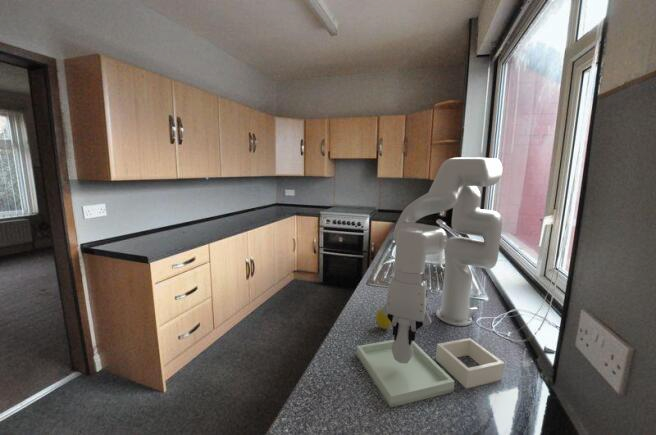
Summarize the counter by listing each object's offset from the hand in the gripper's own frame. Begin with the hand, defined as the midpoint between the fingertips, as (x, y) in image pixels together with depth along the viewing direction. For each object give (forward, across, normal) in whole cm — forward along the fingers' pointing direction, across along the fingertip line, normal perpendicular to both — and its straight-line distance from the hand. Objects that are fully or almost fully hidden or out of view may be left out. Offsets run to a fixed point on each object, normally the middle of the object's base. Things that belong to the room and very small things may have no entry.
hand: (403, 339), depth 77 cm
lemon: (+10, +11, -19) cm, 24 cm away
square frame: (+10, -16, -11) cm, 22 cm away
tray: (+10, 0, 0) cm, 10 cm away
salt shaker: (+6, 0, 0) cm, 6 cm away
